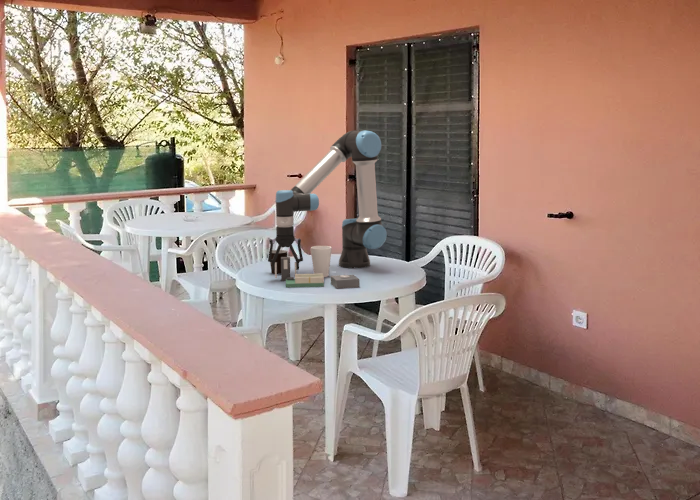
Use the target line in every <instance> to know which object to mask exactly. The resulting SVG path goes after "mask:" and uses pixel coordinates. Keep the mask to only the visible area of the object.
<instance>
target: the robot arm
mask: <svg viewBox="0 0 700 500" xmlns="http://www.w3.org/2000/svg"><path fill="white" fill-rule="evenodd" d="M329 148H330V149H329V151H328V152H327V153H326V154H325V155H324V156H323V157H322V158H321V159H320V160H319V161H318V162H317V163H316V164H315V165H314V166H313V167H312V168H311V169H310V170H309V171H308V172H307V173H306V174H305V175H304V176H303V177H302V178H300V180H299V181H298V182H297V183H296V184H295V185H294V186H293V187H292V188H291V189H290V190H289V189H282V190H280V189H279V190H277V191H276V193H275V215H276V216H275V223H276V228H275V229H276V236H275V238H270V239H269V251H268V258H267V262H268V263H270V262H271V263H272V270H275V274H274V279H277V277H278V274H277V262H275V261H276V258H277V256H278V254H279V251H280V250H282V249H281V248H289V250H290V251H291V254H292V255H293V258H294V260H295V261H294V275H295V274H298V272H297V271H299V270H300V263H301V262H303V261H304V257H303V251H302V245H301V242H302V239H301V238H296V237H295V235H294V233H295V231H294V226H293V225H294V219H295V218H294V212H311V211H316V210H318V208H319V205H320V200H319V196H318V194H316V193H312V192H313V191H315V189H317V187H318V186H319V185H320V184H321V183H322V182H323V181H324V180H325V179H326V178H327V177H329V175H330V174H331V173H332V172H333V171H335V169H337V167H338V166H339V165H340V164H341V163H345V162H347V160H348V159H350V158H351V162H352V163H353V164H354V165H355V171H356V172H355V173H356V174H355V175H356V186H357V200H358V201H357V204H358V217H356V218H345V219H343V220H342V224H341V232H342V233H341V234H342V235H341V236H342V237H341V238H342V241H341V242H342V244H341V246H342V250H341V253H340V257H339V260H338V266H339V267H341V268H344V269H364V268H368V267H371V260H370V256H369V253H368V250H377V249H380V248H381V247H382V246H383V245H384V244H385V242H386V241H387V237H388V235H387V229H386V227H385V226H383V224H382V218H381V217H380V216H379V213H378V199H377V198H378V197H377V184H376V179H377V178H376V167H375V163H377V161H378V160H379V158H378V155H379V154H380V152H381V150H382V140H381V137H380V136H379V135H378V134H377V133H375V132H373V131H370V130H365V129H364V130H349V131H348V132H345V133H344V134H343V135H342V136H340V137H338V139H337V140H335V142H334V143H332V145H331V146H330V147H329ZM294 242H295V244H297V249H298V255H299V257H298V255H297V253H296V251H295V248H294V246H293V243H294ZM275 243H277V248H276V249H275V250H276V253H275V255H274V258H273V259H271V255H272V250H273V249H274V248H273V247H274V244H275ZM367 249H368V250H367Z"/></svg>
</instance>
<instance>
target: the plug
mask: <svg viewBox="0 0 700 500" xmlns="http://www.w3.org/2000/svg"><path fill="white" fill-rule="evenodd" d="M280 277H281V278H280V280H281V282H286V279H287V277H291V256H287V257H281V274H280Z"/></svg>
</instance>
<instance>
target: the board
mask: <svg viewBox="0 0 700 500" xmlns="http://www.w3.org/2000/svg"><path fill="white" fill-rule="evenodd" d="M322 287H323V288H324V287H325V282H324V283H295V276H290V277H287V279H286V281H285V288H322Z"/></svg>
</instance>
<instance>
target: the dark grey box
mask: <svg viewBox="0 0 700 500" xmlns="http://www.w3.org/2000/svg"><path fill="white" fill-rule="evenodd" d="M330 285H331V286H332V287H334V288H335V289H336V290H338V289H354V288H360V277H357V276H356V275H355V274H342V275H341V274H339V275H330Z"/></svg>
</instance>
